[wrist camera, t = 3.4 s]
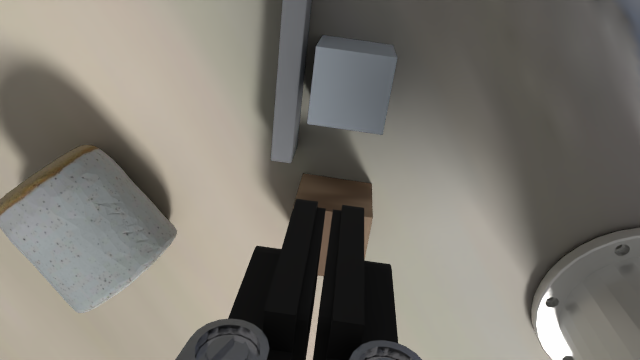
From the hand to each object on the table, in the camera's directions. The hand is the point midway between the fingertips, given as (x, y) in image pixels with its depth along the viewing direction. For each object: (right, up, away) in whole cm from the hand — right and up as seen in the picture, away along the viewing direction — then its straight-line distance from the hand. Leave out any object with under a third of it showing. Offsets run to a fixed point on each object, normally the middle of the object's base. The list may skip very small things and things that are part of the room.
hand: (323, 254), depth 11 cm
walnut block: (+1, 0, +19) cm, 19 cm away
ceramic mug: (-15, 0, +21) cm, 26 cm away
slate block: (+2, +8, +15) cm, 17 cm away
